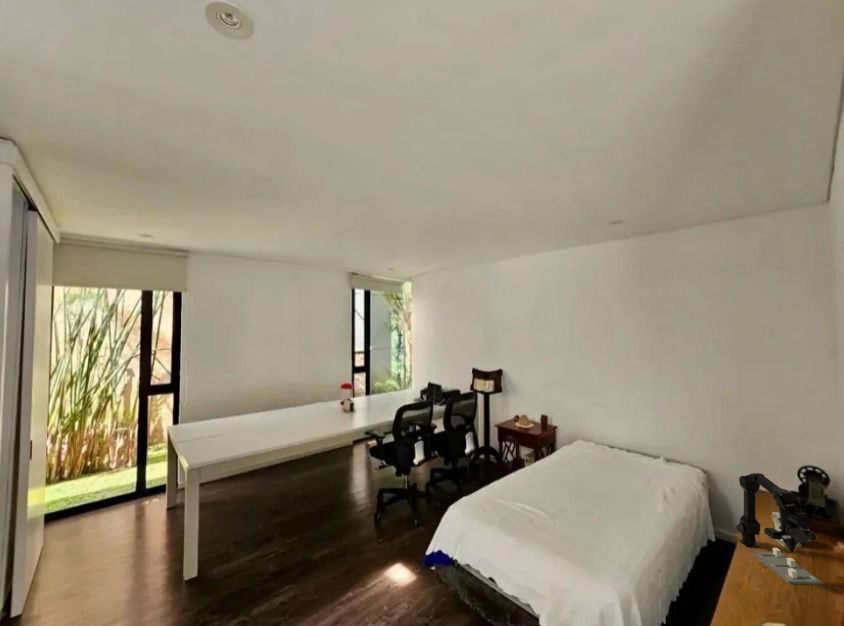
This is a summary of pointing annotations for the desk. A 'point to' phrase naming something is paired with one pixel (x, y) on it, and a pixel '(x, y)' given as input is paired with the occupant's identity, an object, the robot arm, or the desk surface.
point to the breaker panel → (786, 569)
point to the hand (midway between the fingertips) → (791, 552)
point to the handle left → (777, 552)
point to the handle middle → (791, 562)
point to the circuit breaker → (777, 525)
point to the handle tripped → (792, 573)
